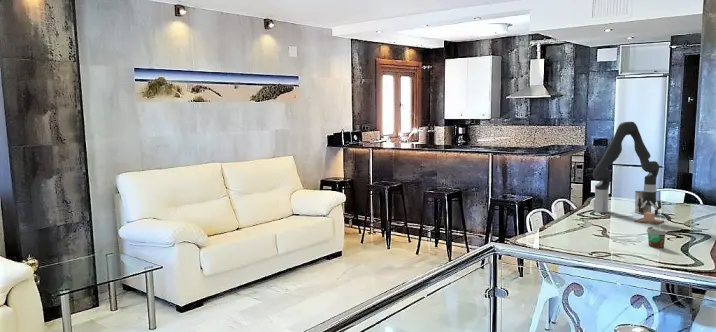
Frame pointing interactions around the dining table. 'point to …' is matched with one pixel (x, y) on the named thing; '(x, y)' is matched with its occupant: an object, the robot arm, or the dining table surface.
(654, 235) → the food container
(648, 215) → the terracotta cube
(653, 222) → the walnut board
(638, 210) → the coffee box
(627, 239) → the dining table surface
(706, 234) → the dining table surface
